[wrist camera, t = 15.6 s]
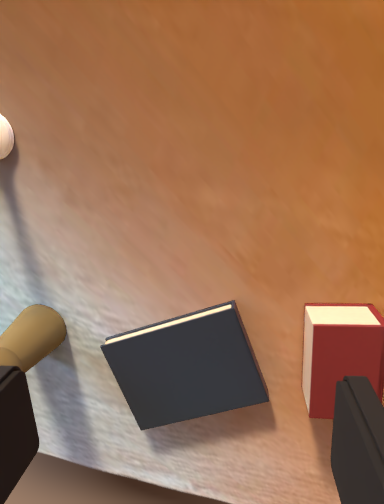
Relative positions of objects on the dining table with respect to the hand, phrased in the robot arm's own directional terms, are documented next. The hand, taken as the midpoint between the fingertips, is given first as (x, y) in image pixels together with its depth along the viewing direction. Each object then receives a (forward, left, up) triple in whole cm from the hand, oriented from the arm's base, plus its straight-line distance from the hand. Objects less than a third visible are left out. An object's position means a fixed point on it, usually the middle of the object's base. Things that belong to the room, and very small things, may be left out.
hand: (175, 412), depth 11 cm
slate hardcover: (+8, +16, -28) cm, 33 cm away
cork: (+24, +8, -28) cm, 38 cm away
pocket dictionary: (-9, +17, -28) cm, 34 cm away
